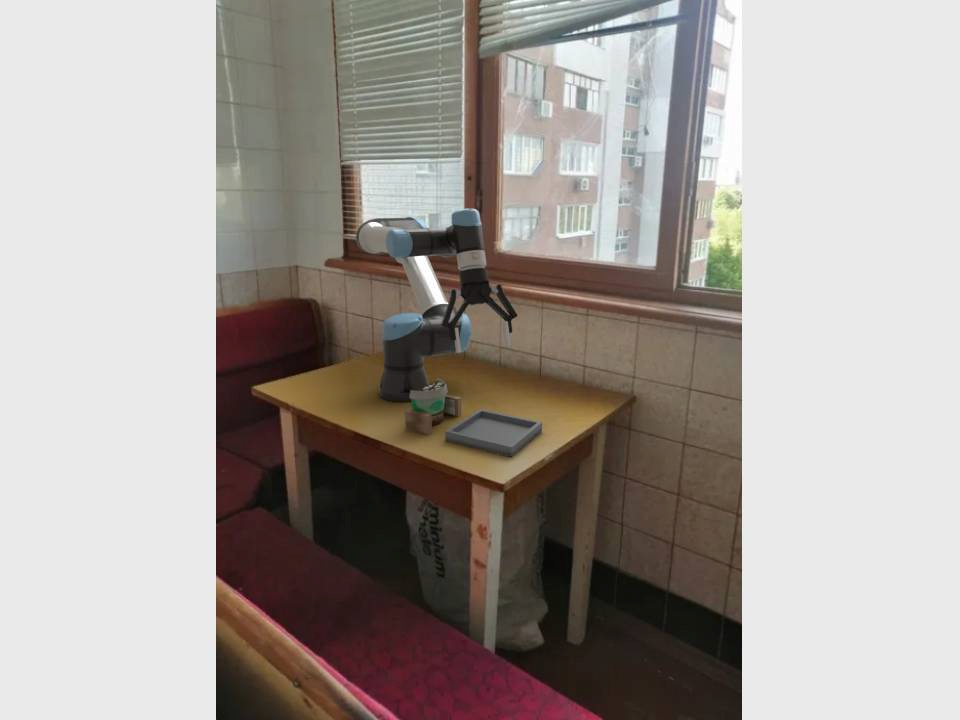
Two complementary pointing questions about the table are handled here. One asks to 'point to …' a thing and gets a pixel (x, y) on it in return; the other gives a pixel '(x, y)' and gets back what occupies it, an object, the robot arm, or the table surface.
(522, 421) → the tray
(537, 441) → the table surface
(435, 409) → the food container
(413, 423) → the brown rectangular blocks
